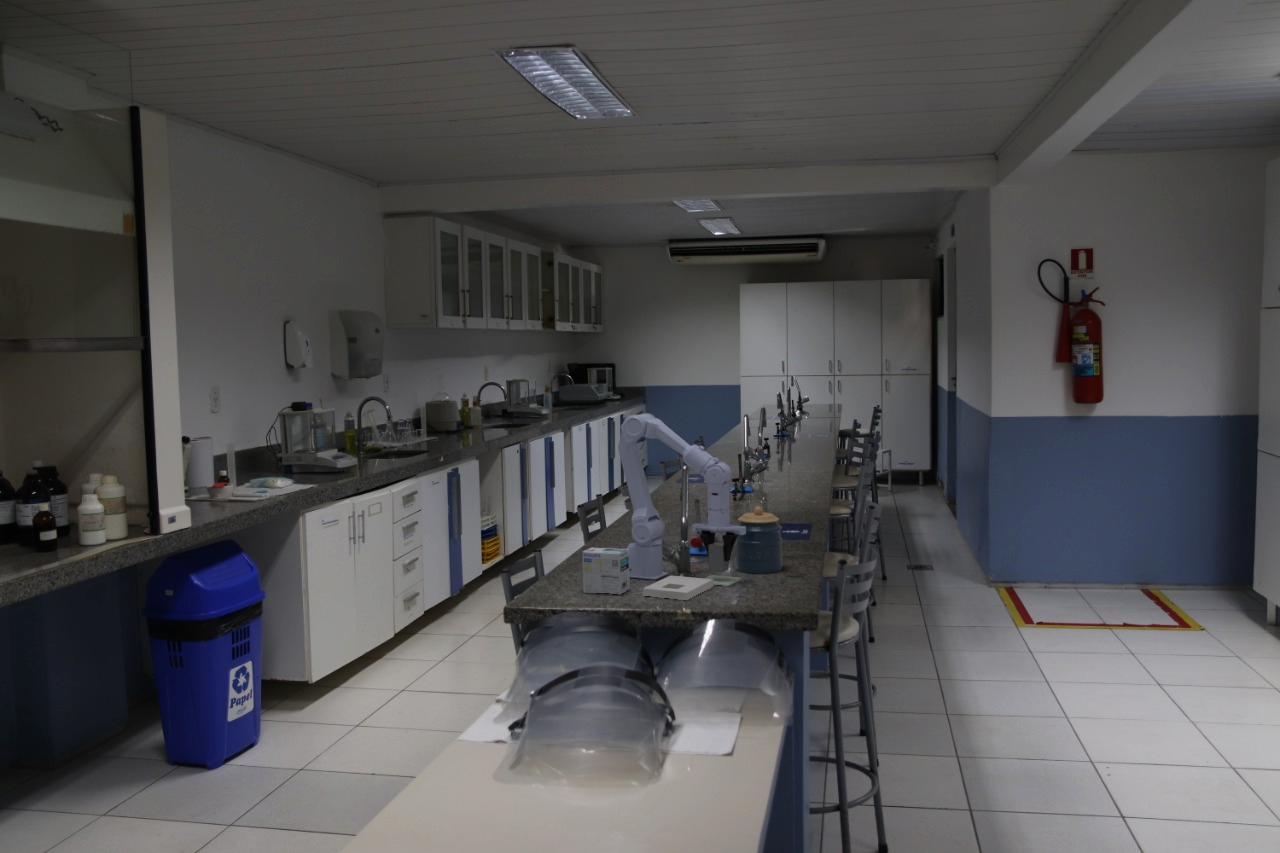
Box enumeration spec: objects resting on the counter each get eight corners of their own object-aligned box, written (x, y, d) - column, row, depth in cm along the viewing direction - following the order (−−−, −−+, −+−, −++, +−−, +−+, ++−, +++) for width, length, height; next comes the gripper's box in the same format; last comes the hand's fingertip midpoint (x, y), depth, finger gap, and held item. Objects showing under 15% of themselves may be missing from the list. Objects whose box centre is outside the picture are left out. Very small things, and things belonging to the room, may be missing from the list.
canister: (731, 573, 276) (730, 509, 275) (740, 563, 288) (739, 502, 287) (778, 575, 272) (777, 510, 271) (785, 565, 285) (785, 503, 283)
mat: (696, 583, 264) (696, 581, 264) (710, 576, 272) (710, 574, 272) (728, 586, 260) (728, 584, 260) (741, 579, 268) (741, 577, 268)
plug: (708, 571, 264) (708, 544, 264) (715, 568, 268) (714, 542, 268) (723, 572, 263) (722, 545, 262) (728, 569, 266) (728, 543, 266)
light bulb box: (630, 589, 258) (630, 548, 258) (621, 595, 252) (620, 553, 251) (592, 587, 262) (591, 546, 261) (582, 593, 256) (581, 551, 255)
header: (643, 596, 251) (642, 588, 251) (671, 582, 265) (671, 575, 265) (686, 600, 246) (686, 592, 245) (713, 587, 260) (713, 579, 260)
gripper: (687, 509, 264) (687, 560, 265) (738, 512, 258) (739, 565, 259) (698, 505, 271) (698, 555, 271) (748, 508, 264) (749, 559, 265)
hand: (719, 560), depth 265 cm, fingers closed on plug, 4 cm apart
